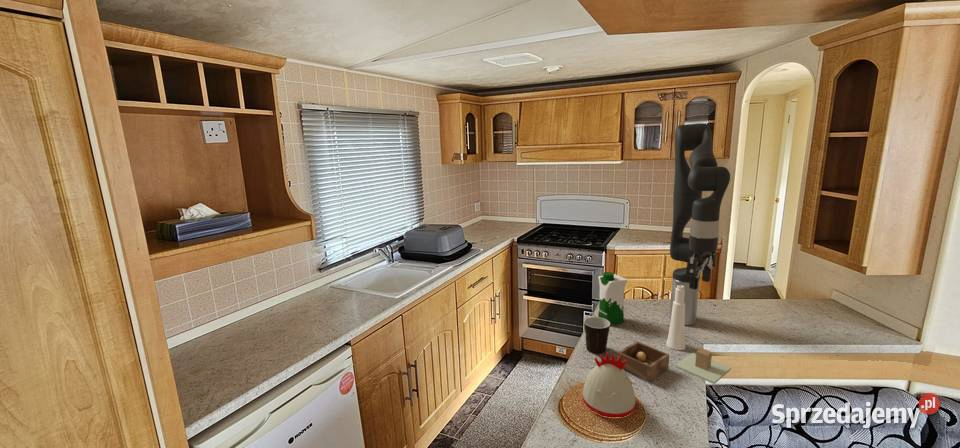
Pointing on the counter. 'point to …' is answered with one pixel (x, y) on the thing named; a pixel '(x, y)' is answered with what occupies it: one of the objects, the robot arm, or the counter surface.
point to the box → (638, 368)
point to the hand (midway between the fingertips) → (699, 284)
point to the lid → (703, 366)
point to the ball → (641, 356)
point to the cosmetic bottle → (677, 321)
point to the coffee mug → (596, 334)
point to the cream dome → (609, 388)
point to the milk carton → (612, 297)
